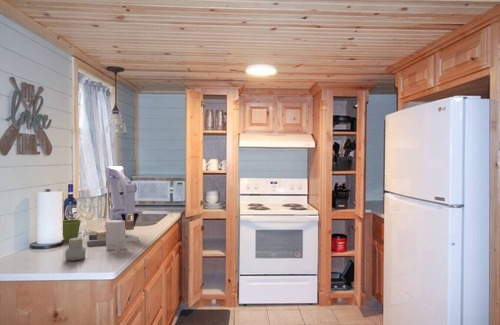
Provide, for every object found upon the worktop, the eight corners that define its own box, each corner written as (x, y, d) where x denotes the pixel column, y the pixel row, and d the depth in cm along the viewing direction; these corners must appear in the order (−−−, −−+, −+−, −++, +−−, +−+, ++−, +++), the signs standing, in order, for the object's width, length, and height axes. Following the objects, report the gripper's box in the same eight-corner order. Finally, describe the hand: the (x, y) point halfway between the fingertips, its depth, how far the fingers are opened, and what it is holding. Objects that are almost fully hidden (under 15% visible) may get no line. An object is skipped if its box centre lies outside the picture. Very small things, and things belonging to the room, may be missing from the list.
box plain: (96, 239, 217) (96, 231, 217) (104, 238, 219) (104, 230, 219) (97, 241, 213) (97, 232, 213) (106, 240, 216) (106, 231, 215)
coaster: (118, 239, 222) (118, 238, 222) (137, 237, 226) (137, 236, 226) (120, 243, 212) (120, 242, 212) (140, 241, 216) (140, 240, 216)
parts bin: (87, 240, 218) (87, 234, 218) (113, 238, 223) (113, 233, 223) (87, 247, 202) (87, 241, 202) (115, 244, 207) (115, 239, 207)
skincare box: (126, 249, 199) (126, 220, 198) (117, 252, 192) (118, 222, 192) (113, 247, 201) (113, 219, 201) (104, 250, 195) (105, 221, 195)
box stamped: (125, 228, 220) (125, 220, 219) (133, 228, 221) (133, 219, 221) (125, 230, 215) (126, 221, 215) (133, 229, 217) (134, 220, 217)
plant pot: (74, 237, 225) (74, 218, 225) (85, 240, 218) (85, 221, 218) (55, 240, 215) (55, 221, 215) (65, 243, 209) (65, 223, 208)
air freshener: (84, 261, 175) (84, 240, 174) (64, 263, 172) (64, 242, 171) (85, 255, 185) (85, 236, 185) (67, 257, 182) (67, 237, 182)
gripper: (117, 205, 212) (117, 228, 212) (143, 204, 218) (143, 226, 218) (116, 203, 218) (116, 226, 218) (141, 202, 224) (141, 224, 224)
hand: (129, 226), depth 219 cm, fingers closed on box stamped, 4 cm apart
